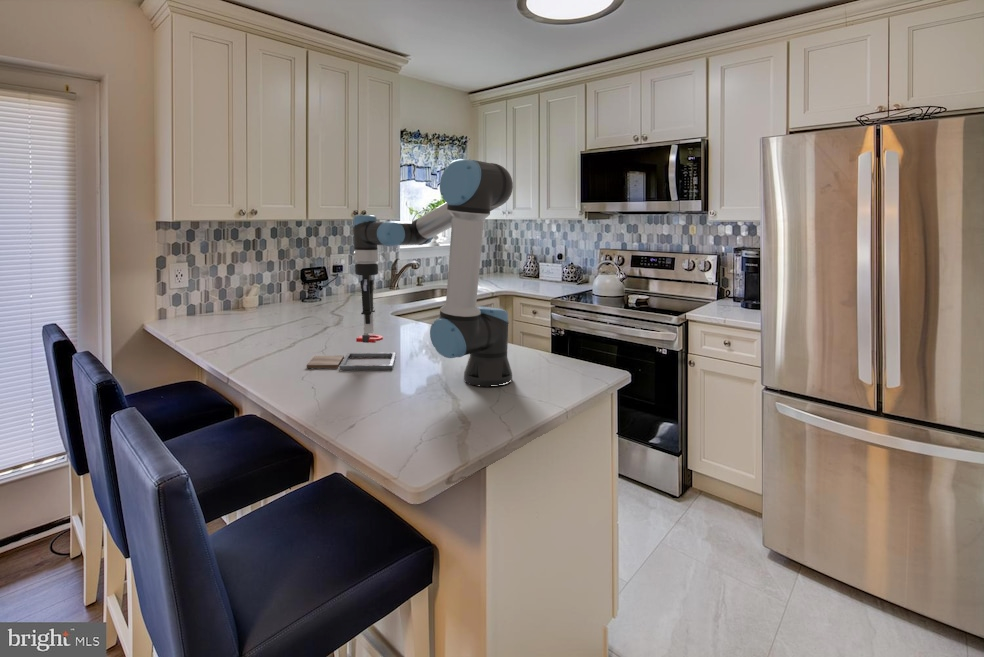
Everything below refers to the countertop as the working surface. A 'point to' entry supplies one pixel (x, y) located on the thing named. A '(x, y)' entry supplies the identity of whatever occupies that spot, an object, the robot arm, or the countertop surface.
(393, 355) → the grey square tray
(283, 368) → the countertop surface
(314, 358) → the walnut board
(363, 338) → the tow hook
